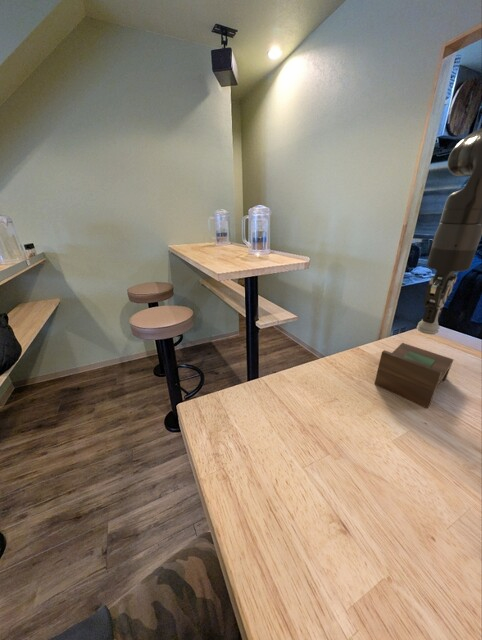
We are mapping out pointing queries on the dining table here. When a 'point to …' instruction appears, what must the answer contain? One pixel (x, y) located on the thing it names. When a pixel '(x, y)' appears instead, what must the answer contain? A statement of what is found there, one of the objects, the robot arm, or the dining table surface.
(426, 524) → the dining table surface
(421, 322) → the rook chess piece
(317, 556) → the dining table surface
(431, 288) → the robot arm
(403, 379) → the wooden stand
